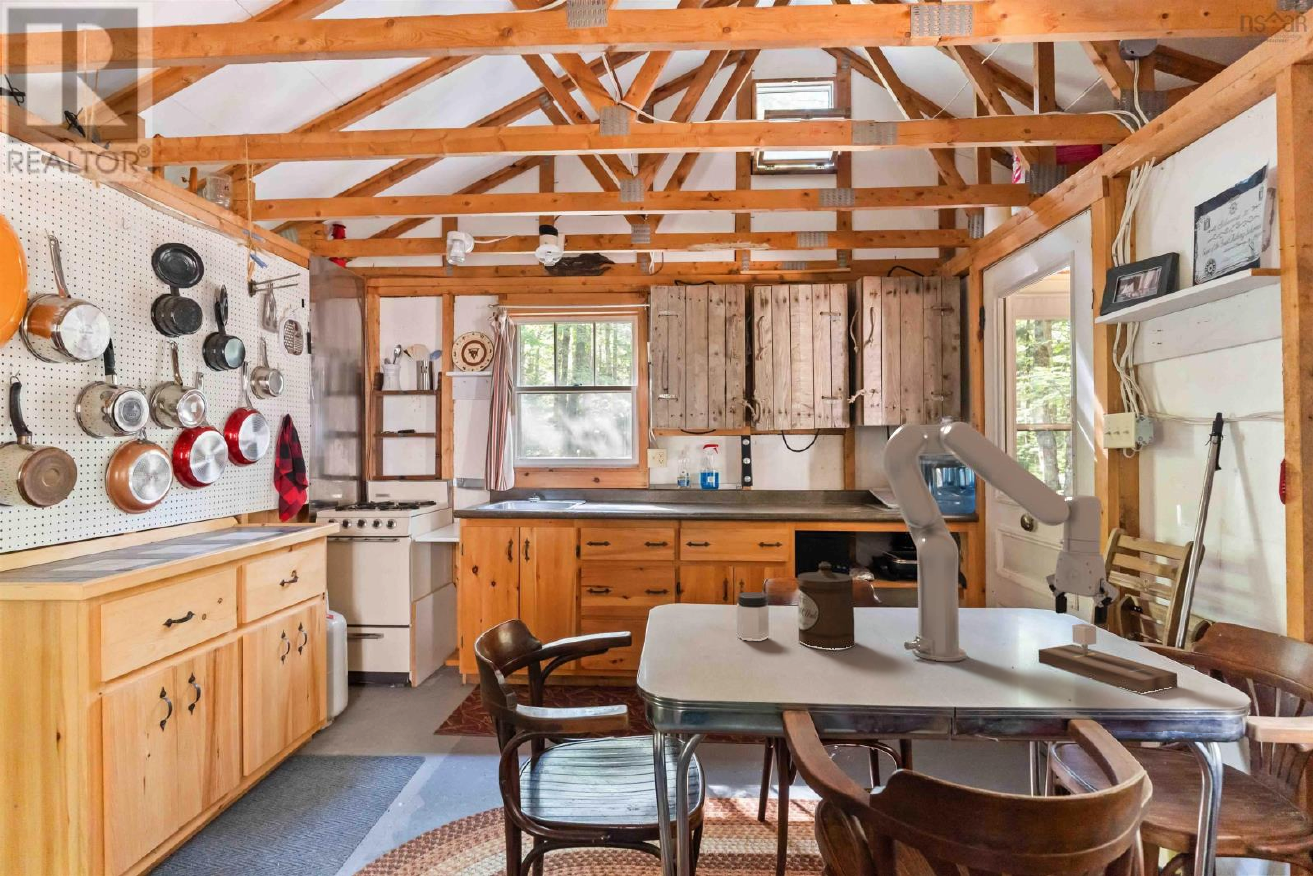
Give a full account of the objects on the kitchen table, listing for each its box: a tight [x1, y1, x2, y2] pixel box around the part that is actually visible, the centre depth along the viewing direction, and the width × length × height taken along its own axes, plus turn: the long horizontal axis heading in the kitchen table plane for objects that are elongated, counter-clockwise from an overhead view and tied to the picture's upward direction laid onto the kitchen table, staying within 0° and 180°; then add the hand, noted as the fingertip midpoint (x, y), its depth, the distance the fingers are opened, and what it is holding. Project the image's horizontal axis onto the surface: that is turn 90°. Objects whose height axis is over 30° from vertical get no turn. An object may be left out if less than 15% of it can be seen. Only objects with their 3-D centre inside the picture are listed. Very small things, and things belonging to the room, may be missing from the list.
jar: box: [736, 591, 770, 639], centre depth 185 cm, size 9×8×12 cm
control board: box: [1038, 644, 1178, 693], centre depth 153 cm, size 12×24×3 cm, turn 22°
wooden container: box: [797, 561, 855, 649], centre depth 179 cm, size 15×15×22 cm
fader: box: [1072, 623, 1097, 655], centre depth 157 cm, size 4×3×7 cm
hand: (1080, 618), depth 158 cm, fingers open, 9 cm apart
